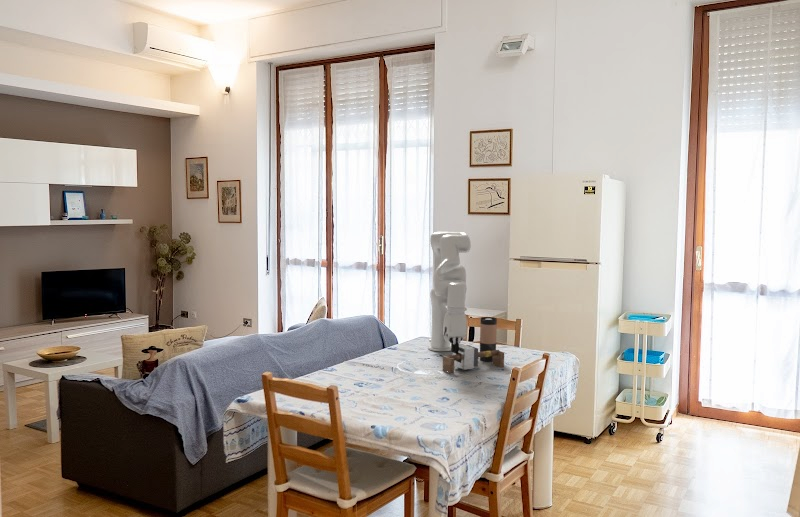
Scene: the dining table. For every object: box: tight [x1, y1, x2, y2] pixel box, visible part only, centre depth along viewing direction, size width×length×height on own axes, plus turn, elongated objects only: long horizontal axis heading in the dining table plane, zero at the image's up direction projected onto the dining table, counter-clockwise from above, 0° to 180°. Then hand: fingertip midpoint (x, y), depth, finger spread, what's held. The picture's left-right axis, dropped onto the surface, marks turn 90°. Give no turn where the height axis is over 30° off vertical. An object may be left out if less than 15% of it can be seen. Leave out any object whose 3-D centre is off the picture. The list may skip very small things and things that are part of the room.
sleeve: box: [452, 343, 475, 371], centre depth 296 cm, size 5×9×9 cm, turn 29°
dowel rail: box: [442, 349, 505, 374], centre depth 299 cm, size 29×6×7 cm, turn 119°
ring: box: [466, 344, 479, 368], centre depth 298 cm, size 2×8×8 cm, turn 29°
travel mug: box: [479, 316, 498, 363], centre depth 314 cm, size 8×8×20 cm
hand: (454, 352), depth 294 cm, fingers closed
